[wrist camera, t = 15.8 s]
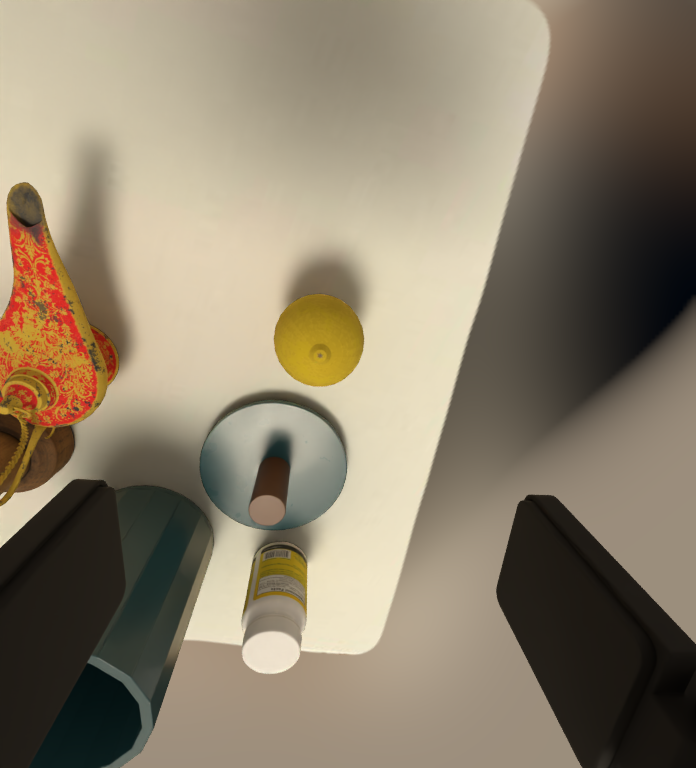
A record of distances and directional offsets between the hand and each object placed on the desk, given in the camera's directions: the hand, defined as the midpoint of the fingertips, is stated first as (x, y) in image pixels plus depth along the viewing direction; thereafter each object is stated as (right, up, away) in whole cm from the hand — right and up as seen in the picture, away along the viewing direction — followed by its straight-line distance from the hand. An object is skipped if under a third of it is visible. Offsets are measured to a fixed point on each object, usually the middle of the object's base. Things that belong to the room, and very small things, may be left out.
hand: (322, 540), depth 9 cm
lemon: (-1, +8, +19) cm, 21 cm away
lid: (-5, -3, +22) cm, 23 cm away
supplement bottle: (-5, -12, +26) cm, 29 cm away
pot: (-16, -9, +24) cm, 30 cm away
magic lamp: (-18, +7, +18) cm, 26 cm away
